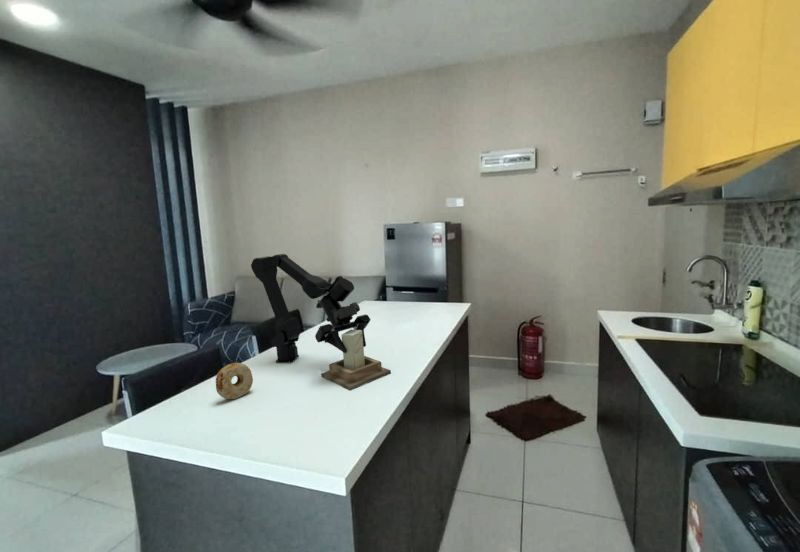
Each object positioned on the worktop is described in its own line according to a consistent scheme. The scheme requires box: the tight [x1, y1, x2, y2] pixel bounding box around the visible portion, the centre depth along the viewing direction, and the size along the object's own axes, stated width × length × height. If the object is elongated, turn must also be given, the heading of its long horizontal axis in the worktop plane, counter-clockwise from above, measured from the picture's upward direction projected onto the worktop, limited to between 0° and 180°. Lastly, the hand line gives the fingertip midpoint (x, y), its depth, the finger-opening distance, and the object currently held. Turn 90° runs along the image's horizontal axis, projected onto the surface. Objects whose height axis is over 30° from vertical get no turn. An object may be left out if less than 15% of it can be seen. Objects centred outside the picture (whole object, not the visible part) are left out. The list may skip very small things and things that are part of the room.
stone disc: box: [215, 362, 254, 400], centre depth 112 cm, size 10×4×10 cm, turn 139°
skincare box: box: [340, 328, 365, 371], centre depth 122 cm, size 6×4×12 cm
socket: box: [320, 355, 392, 391], centre depth 123 cm, size 16×16×4 cm
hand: (355, 349), depth 121 cm, fingers closed on skincare box, 7 cm apart
